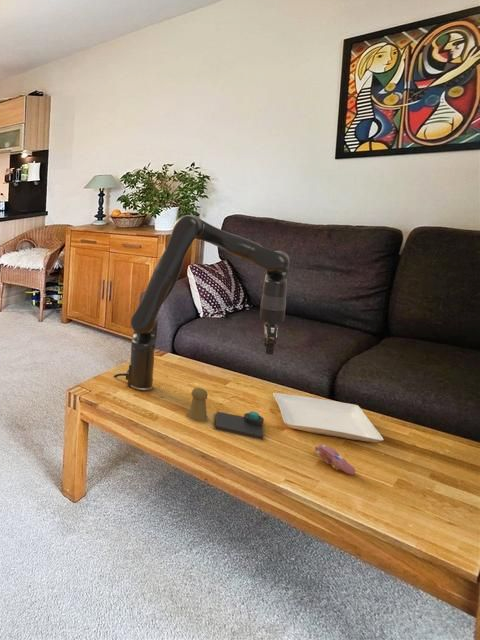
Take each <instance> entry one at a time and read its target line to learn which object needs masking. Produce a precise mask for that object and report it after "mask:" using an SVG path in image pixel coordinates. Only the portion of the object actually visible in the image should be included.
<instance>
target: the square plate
mask: <svg viewBox="0 0 480 640" xmlns="http://www.w3.org/2000/svg"><path fill="white" fill-rule="evenodd" d="M272 396H273V398H274V400H275V401H276V403H277V405H278V408H279V411H280V414H281V418H282V421H283V423H284V424H285V425H286V426H287V427H288V428H290V429H294V430H299V431H302V432H307V433H312V434H317V435H323V436H330V437H335V438H341V439H346V440H351V441H362V442H367V443H378V442H382V441H384V437H383V436H382V434H381V433H380V432H379V431H378V429H377V428H376V426H374V423H372V421H371V420H370V419H369V418H368V416H367V415H366V413H365V412H364V411H363V409H362V408H361V407H360V406H359V405H358V404H353V403H348V402H342V401H335V400H331V399H330V400H329V399H324V398H316V397H312V396H311V397H310V396H304V395H303V396H302V395H297V394H288V393H280V392H272Z"/></svg>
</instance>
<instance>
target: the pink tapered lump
mask: <svg viewBox="0 0 480 640" xmlns="http://www.w3.org/2000/svg"><path fill="white" fill-rule="evenodd" d="M314 449H315V453H316V454H317V455H318V456H320V457H321V459H322V460H323V461H324V462H325V463H326V464H327V465H331V467H332V468H333V470H335V471H343V472H344V473H345V474H347V475H355V474H356V469H355V467H354V466H352V465H351V464H350V463H348V461H347V460H346V459H345V457H343V456H342V455H341V454H339V452H338V451H337V450H336V449H335V448H333V447H329V446H327V445H326V444H325V443H324V444H319V445H317V446H315V447H314Z"/></svg>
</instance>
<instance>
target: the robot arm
mask: <svg viewBox="0 0 480 640" xmlns="http://www.w3.org/2000/svg"><path fill="white" fill-rule="evenodd" d="M194 240H199V241H203V242H206V243H209V244H210V245H213V246H216V247H217V248H219V249H221V250H223V251H225V252H227V253H228V254H230V255H233V256H235V257H237V258H240V259H242V260H245V261H247V262H251V263H253V264H255V265H257V266H259V267H261V268H262V269H265V277H264V281H263V288H262V295H261V298H260V299H261V300H260V308H259V309H260V310H259V319H260V320H261V321H265V322H264V323H263V334H264V343H263V344H264V345H263V346H264V347H265V354H266V355H270V356H273V355H274V351H275V345H276V344H277V337H278V331H279V326H278V324H277V323H283V322H285V319H286V310H287V309H286V308H287V290H288V274H289V268H290V265H291V264H290V263H291V262H290V261H291V259H290V257H289V255H288V254H287V253H286V252H284V251H282V250H273V249H270V248H267V247H264V246H263V245H262V244H260V243H258V242H256V241H253V240H251V239H248V238H244V237H242V236H240V235H237V234H234V233H231V232H228V231H226V230H223V229H221V228H218V227H217V226H214V225H212V224H210V223H208V222H206V221H205V220H203V219H201V218H200V217H198V216H197V215H194V214H185V215H182V216H180V217H179V218H178V219H177V220H176V221H175V223H174V224H173V228H172V232H171V234H170V237H169V240H168V243H167V245H166V247H165V249H164V251H163V253H162V254H161V256H160V258H159V259H158V261H157V263H156V265H155V267H154V270H153V272H152V274H151V276H150V279H149V281H148V284H147V287H146V289H145V291H144V294H143V297H142V300H141V301H140V303H139V305H138V307H137V309H136V310H135V312H133V315H132V316H131V319H130V326H131V329H132V330H133V334H132V337H131V341H130V344H131V345H130V361H129V364H128V369H127V371H126V372H125V373H124V372H123V373H116V374H114V375H113V377H114V378H115V379H116V378H118V377H125V380H126V381H127V387H128V388H131V389H133V390H136V391H140V392H148V391H151V390H153V388H154V387H153V383H154V365H155V364H154V363H155V349H156V342H157V335H158V324H159V323H158V313H159V311H160V309H161V307H162V306H163V304H164V303H165V301H166V300H167V298H168V297H169V295H170V294H171V292H172V291H173V290H174V287H175V286H176V283H177V281H178V279H179V277H180V275H181V272H182V269H183V265H184V262H185V257H186V255H187V253H188V250H189V249H190V247H191V245H192V244H193V242H194Z"/></svg>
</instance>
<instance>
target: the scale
mask: <svg viewBox="0 0 480 640" xmlns="http://www.w3.org/2000/svg"><path fill="white" fill-rule="evenodd" d="M264 420H265V419H264V417H262V415H259V419H258V420H255V419H251V418H249V412H246V413H244V414H243V416H241V415H236V414H233V413H232V414H231V413H226V412H221V411H216V420H215V430H217V431H222V432H226V433H230V434H235V435H238V436H239V435H240V436H244V437H247V438H248V437H249V438H253V439H256V440H257V439H258V440H260V441H261V440H262V441H263V439H264V433H263V425H264V422H265V421H264Z"/></svg>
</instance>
